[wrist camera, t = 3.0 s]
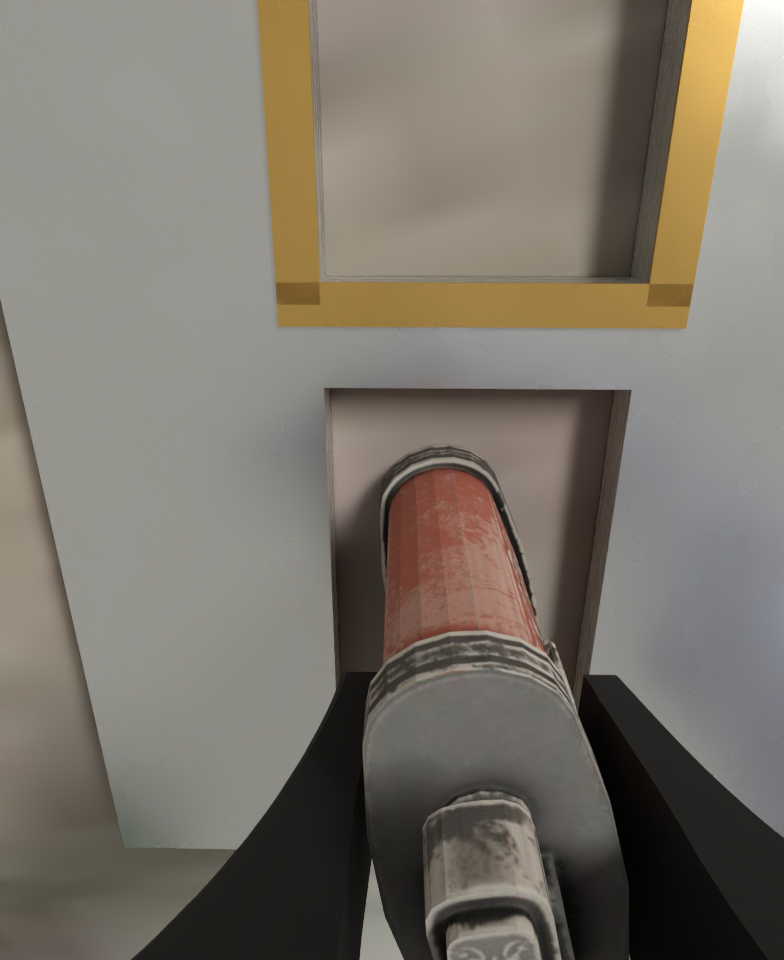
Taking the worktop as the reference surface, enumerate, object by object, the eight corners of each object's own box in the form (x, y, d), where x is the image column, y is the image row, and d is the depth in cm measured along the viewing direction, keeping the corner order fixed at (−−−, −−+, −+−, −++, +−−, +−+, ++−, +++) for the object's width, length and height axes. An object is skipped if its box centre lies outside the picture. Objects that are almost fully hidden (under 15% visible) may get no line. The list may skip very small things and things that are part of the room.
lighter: (550, 715, 17) (717, 1298, 8) (424, 734, 18) (447, 1316, 8) (506, 430, 14) (693, 854, 5) (354, 460, 15) (271, 908, 5)
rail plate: (765, 825, 19) (786, 861, 18) (137, 816, 19) (122, 850, 18) (1302, -871, 8) (1435, -1028, 7) (-209, -843, 8) (-297, -993, 7)
